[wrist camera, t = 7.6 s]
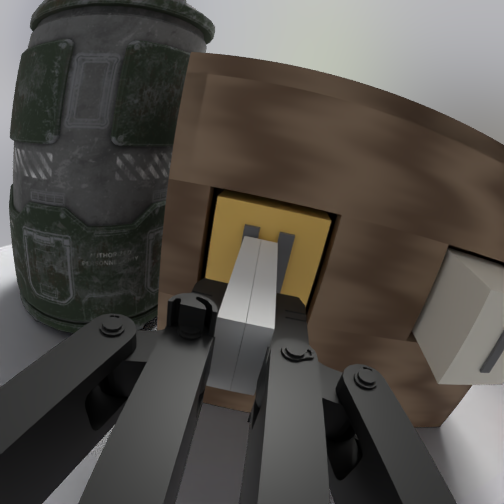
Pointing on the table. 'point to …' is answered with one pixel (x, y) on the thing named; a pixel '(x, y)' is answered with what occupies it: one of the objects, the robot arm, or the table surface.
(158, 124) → the canister
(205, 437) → the table surface
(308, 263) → the button two
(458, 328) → the button one
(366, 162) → the console
